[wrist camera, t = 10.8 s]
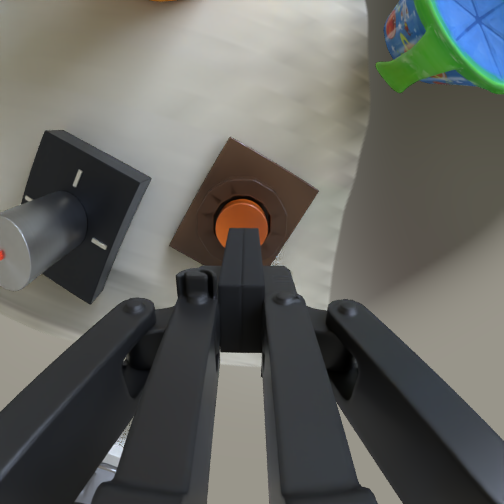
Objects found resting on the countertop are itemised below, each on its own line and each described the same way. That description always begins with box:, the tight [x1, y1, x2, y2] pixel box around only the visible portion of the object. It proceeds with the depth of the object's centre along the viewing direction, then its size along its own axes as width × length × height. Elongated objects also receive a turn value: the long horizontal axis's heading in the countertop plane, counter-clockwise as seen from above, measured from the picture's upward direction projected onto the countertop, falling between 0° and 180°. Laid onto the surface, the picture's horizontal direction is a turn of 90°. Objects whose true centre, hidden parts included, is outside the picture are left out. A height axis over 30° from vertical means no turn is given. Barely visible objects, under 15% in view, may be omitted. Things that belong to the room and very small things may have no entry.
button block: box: [169, 137, 319, 266], centre depth 24 cm, size 10×8×3 cm
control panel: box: [21, 130, 151, 305], centre depth 23 cm, size 12×10×3 cm
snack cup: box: [376, 0, 504, 94], centre depth 15 cm, size 16×10×10 cm
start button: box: [215, 199, 268, 248], centre depth 22 cm, size 4×4×2 cm
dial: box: [0, 191, 87, 291], centre depth 18 cm, size 5×5×8 cm
